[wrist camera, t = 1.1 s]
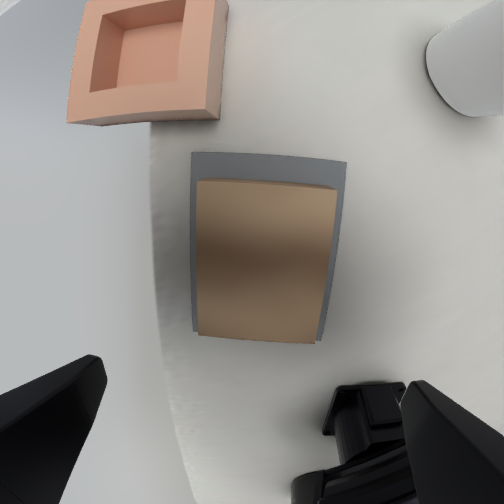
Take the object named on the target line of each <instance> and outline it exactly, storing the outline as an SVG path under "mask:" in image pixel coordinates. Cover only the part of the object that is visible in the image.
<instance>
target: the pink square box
mask: <svg viewBox="0 0 504 504" xmlns="http://www.w3.org/2000/svg"><path fill="white" fill-rule="evenodd" d="M228 8H229V6H228V3H227V0H92V1H89V2H87V3H86V6H85V10H84V14H83V18H82V22H81V26H80V30H79V35H78V39H77V45H76V50H75V56H74V61H73V67H72V74H71V81H70V90H69V99H68V110H67V123H73V124H85V125H95V126H109V125H118V124H127V123H137V122H138V123H139V122H152V121H170V120H220V106H221V91H222V77H223V63H224V51H225V40H226V29H227V18H228Z"/></svg>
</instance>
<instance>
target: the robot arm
mask: <svg viewBox="0 0 504 504" xmlns="http://www.w3.org/2000/svg"><path fill="white" fill-rule="evenodd" d="M106 385H107V375H106V372H105V368H104V365H103V362H102V359H101V358H100V357H98V356H94V355H86V356H84V357H82V358H79V359H78V360H75V361H73V362H71V363H69V364H67V365H65V366H63V367H60V368H58V369H56V370H54V371H52V372H50V373H48V374H45V375H43V376H41V377H39V378H37V379H34V380H32V381H30V382H28V383H26V384H24V385H21V386H19V387H17V388H15V389H13V390H10V391H8V392H6V393H4V394H2V395H0V504H59V502H60V499H61V497H62V494H63V491H64V489H65V487H66V484H67V482H68V480H69V477H70V475H71V472H72V470H73V468H74V465H75V463H76V461H77V458H78V456H79V454H80V451H81V449H82V447H83V445H84V443H85V440H86V438H87V436H88V434H89V431H90V430H91V427H92V425H93V423H94V420H95V417H96V414H97V411H98V408H99V405H100V402H101V400H102V397H103V394H104V391H105V388H106ZM400 388H401V389H400ZM405 390H406V386H405V384H404V383H396V384H383V385H366V386H342V387H339V388H337V389H336V391H335V394H334V397H333V400H332V403H331V406H330V409H329V412H328V415H327V418H326V421H325V423H324V426H323V429H322V433H323V435H325V436H331V435H335V436H336V441H337V447H338V453H339V459H340V465H339V466H336V467H333V468H330V469H327V470H321V471H318V472H317V479H316V483H315V491H314V498H313V504H504V437H503V435H502V434H500V433H499V432H497V431H496V430H495V429H493V428H492V427H490V426H489V425H487V424H486V423H485V422H483V421H482V420H480V419H479V418H477V417H476V416H474V415H473V414H472V413H470V412H469V411H467V410H466V409H464V408H463V407H462V406H460V405H459V404H457V403H456V402H454V401H453V400H452V399H450V398H449V397H447V396H446V395H444V394H443V393H442V392H440V391H439V390H437V389H436V388H434V387H433V386H432V385H430V384H429V383H427V382H426V381H424V380H418V381H412V382H411V383H410V384H409V386H408V388H407V390H406V392H405ZM341 392H342V393H341ZM404 392H405V394H404ZM403 395H404V396H403ZM402 397H403V398H402ZM401 399H402V400H401ZM400 401H401V408H400V406H399V403H400Z"/></svg>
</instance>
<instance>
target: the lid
mask: <svg viewBox="0 0 504 504" xmlns="http://www.w3.org/2000/svg"><path fill="white" fill-rule="evenodd" d="M336 201H337V190H335V189H334V188H332V187H330V186H326V185H316V184H305V183H294V182H281V181H267V180H250V179H230V178H205V179H202V180H199V181H197V203H196V273H197V312H198V335H201V336H210V337H220V338H230V339H242V340H254V341H268V342H285V343H308V344H315V340H316V335H317V330H318V325H319V319H320V314H321V308H322V302H323V296H324V290H325V284H326V278H327V271H328V265H329V258H330V251H331V243H332V235H333V227H334V219H335V210H336Z"/></svg>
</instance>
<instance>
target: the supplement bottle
mask: <svg viewBox="0 0 504 504" xmlns="http://www.w3.org/2000/svg"><path fill="white" fill-rule="evenodd" d="M316 479H317V472H313V473H309V474H306V475H303V476H301V477H299V478H297V479H296V480H295V481H294V482H293V484H292V487H291V504H313V498H314V491H315V483H316Z"/></svg>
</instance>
